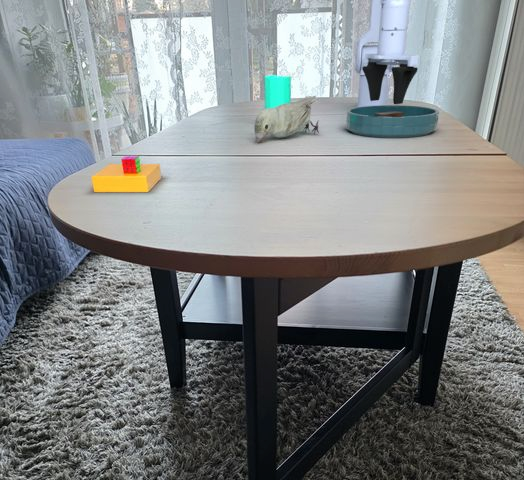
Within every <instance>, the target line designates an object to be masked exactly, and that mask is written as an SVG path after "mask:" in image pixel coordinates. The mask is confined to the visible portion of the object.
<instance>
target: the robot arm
mask: <svg viewBox="0 0 524 480" xmlns="http://www.w3.org/2000/svg"><path fill="white" fill-rule="evenodd" d="M410 8H411V0H370V7H369V18H368V30H367V31H365V32H364V33H363V34H361V36H360V37H358V39H357V42H356V48H355V55H354V72H356V73H357V74H358V75H359V78H358V79H359V80H358V92H357V94H358V95H357V106H356V107H363V106H376V105H389V96H390V86H391V85H390V80H389V78H388V76H389V75H390V73H392V79H393V93H392V103H393V105H403V103H404V100H405V97H406V94H407V91H408V88H409V87H410V84H411V82H412V80H413V78H414V77H415V75H416V74H417V73H418V65H419V57H420V56H419V55H417V54H416V55H415V54H405V53H406V44H407V35H408V34H407V33H408V25H409V17H410V10H411V9H410ZM366 44H369V45H366ZM370 44H372V45H370ZM373 44H376V45H373Z"/></svg>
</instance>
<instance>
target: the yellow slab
mask: <svg viewBox="0 0 524 480" xmlns="http://www.w3.org/2000/svg"><path fill="white" fill-rule="evenodd" d="M161 179H162V173H161V164H160V163H141V160H140V156H139V155H125V156H123V157H122V158H121V163H109V164H108V165H106V166H105V167H103V168H101V170H99V171H98V172H96V173H94V174H93V175H92V176H91V183H92V188H93V192H94V193H149V192H150V191H151V190H152V189H153V187H155V185H157V184H158V182H159V181H160V180H161Z"/></svg>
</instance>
